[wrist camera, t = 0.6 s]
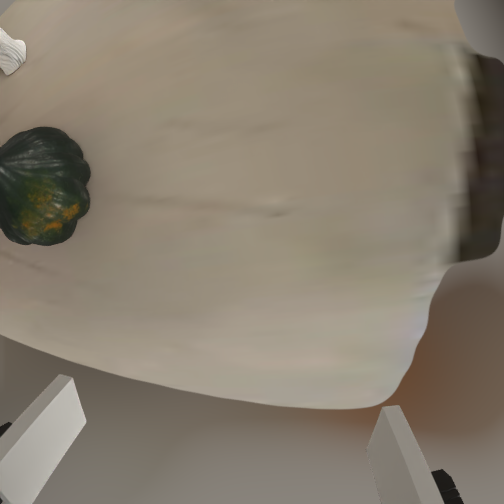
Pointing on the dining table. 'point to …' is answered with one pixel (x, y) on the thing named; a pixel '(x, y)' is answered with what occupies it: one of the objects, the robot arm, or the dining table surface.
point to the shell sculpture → (11, 53)
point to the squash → (42, 187)
